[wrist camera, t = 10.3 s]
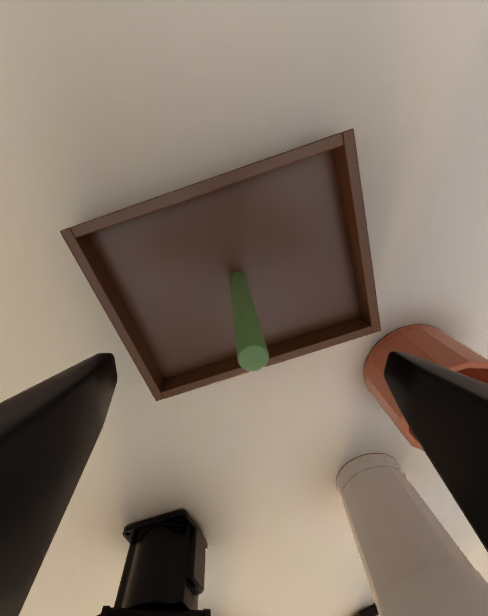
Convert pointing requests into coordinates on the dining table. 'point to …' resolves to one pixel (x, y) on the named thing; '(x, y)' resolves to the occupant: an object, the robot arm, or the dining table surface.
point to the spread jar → (370, 611)
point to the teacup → (426, 346)
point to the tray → (236, 265)
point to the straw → (246, 326)
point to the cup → (406, 545)
